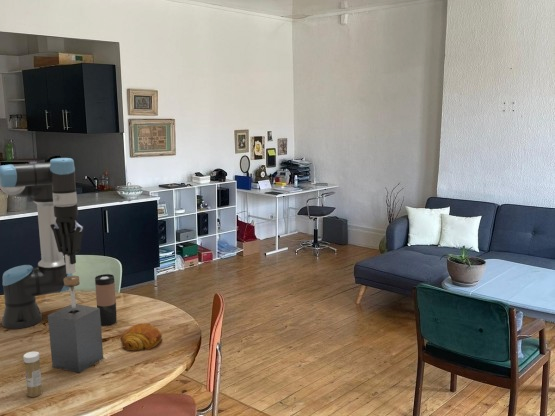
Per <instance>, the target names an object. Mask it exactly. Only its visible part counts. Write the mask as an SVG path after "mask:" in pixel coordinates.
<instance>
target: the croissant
mask: <svg viewBox="0 0 555 416" xmlns="http://www.w3.org/2000/svg"><path fill="white" fill-rule="evenodd" d="M162 335H163V334H162V333H161V332H160V330H159V329H158V328H157V327H155V326H154V325H151V324H149V323H137V324H133V325H132V326H130V327H129V328H128V329H126V331H124V332H122V335H121V337H120V342H121V346H122V347H123V348H124V349H126V350H128V351H141V350H146V351H147V350H150V349H152V348H154V347H157V345H159V343H161V340H162V337H163V336H162Z"/></svg>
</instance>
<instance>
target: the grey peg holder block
mask: <svg viewBox="0 0 555 416" xmlns="http://www.w3.org/2000/svg"><path fill="white" fill-rule="evenodd" d="M47 322H48V333H49V334H48V335H49V342H50V355H51V366H52V368H55V369H60V370H63V371H68V372H72V373H77V374H81V373H82V372H84V371H85V370H88V368H90V367H92V366H93V365H95V364H97V363H98V362H101V361H102V360H104V351H103V337H102V336H103V335H102V326H101V319H100V308H97V306H96V307H94V306H89V305H83V304H78V303H76V313H75V314H73V313H72V306H71V304H69V305H67V306H65V307H63V308H60V309H59V310H58V309H57V310H56V311H54V312H52V313H50V314H48V315H47Z"/></svg>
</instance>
